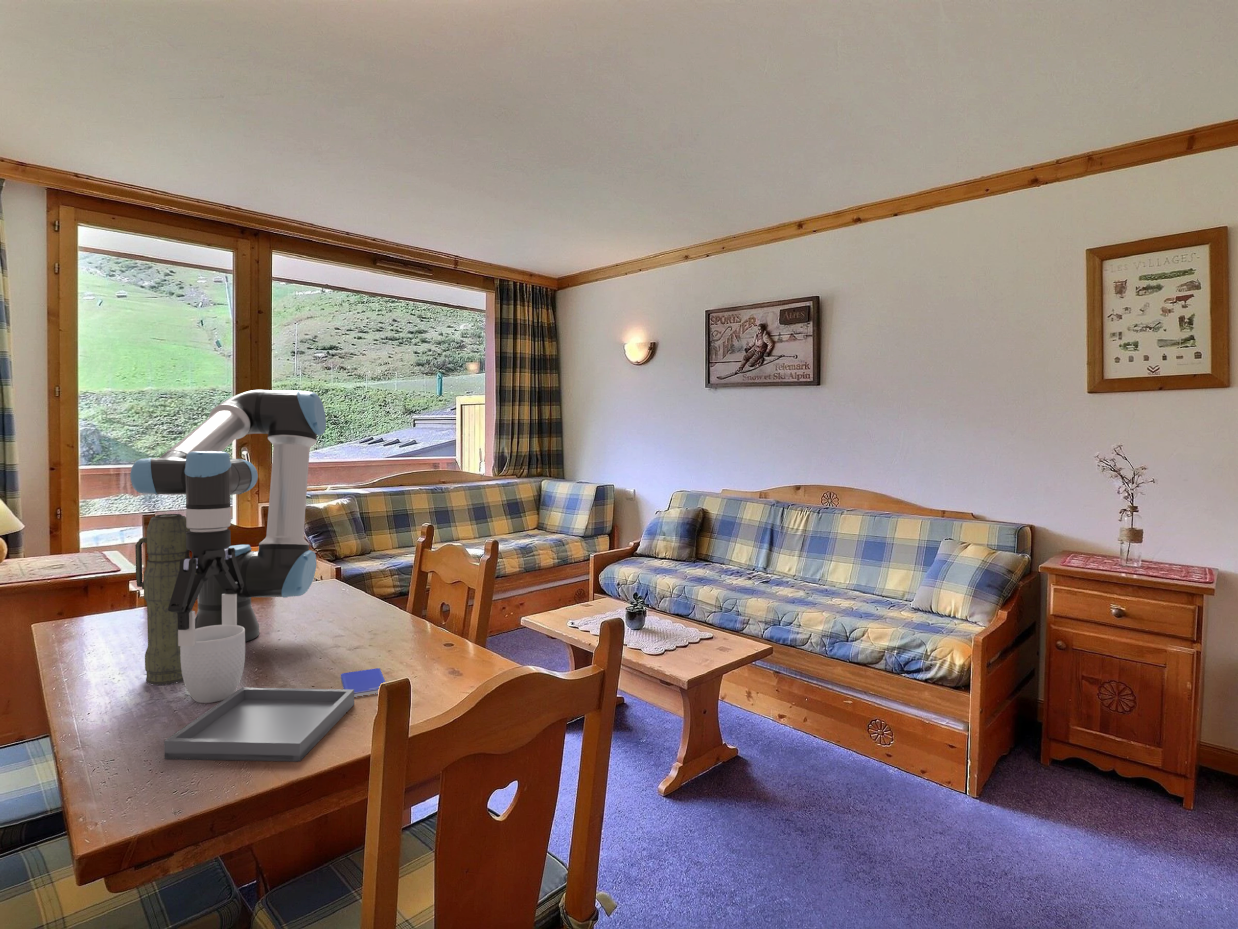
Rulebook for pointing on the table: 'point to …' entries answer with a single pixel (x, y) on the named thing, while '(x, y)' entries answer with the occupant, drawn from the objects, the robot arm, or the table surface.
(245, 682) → the table surface
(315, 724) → the tray
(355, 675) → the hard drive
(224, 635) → the mug
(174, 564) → the thermos
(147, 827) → the table surface
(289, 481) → the robot arm
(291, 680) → the table surface
